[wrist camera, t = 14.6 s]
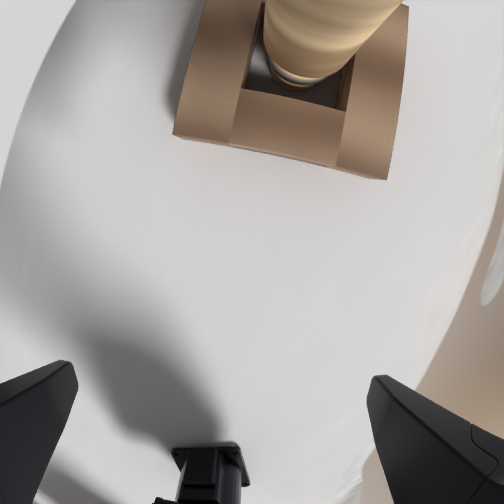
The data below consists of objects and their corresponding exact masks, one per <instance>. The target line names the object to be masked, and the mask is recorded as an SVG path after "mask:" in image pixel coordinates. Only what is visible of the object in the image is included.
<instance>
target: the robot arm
mask: <svg viewBox="0 0 504 504" xmlns="http://www.w3.org/2000/svg"><path fill="white" fill-rule="evenodd" d="M77 391H78V381H77V377H76V374H75V371H74V367H73V365H72V363H71V362H69V361H64V360H58V361H55V362H53V363H51V364H48V365H46V366H43V367H41V368H38V369H36V370H33V371H31V372H28V373H26V374H23V375H21V376H18V377H16V378H13V379H11V380H8V381H6V382H3V383H1V384H0V504H32V502H33V500H34V497H35V494H36V492H37V489H38V487H39V485H40V482H41V480H42V477H43V475H44V473H45V470H46V468H47V466H48V463H49V461H50V459H51V456H52V454H53V452H54V450H55V447H56V445H57V443H58V441H59V439H60V437H61V434H62V432H63V430H64V428H65V425H66V422H67V420H68V417H69V414H70V411H71V408H72V405H73V402H74V400H75V397H76V394H77ZM367 408H368V413H369V417H370V422H371V427H372V432H373V437H374V441H375V445H376V449H377V452H378V455H379V458H380V461H381V464H382V467H383V470H384V473H385V476H386V479H387V482H388V486H389V489H390V492H391V495H392V498H393V501H394V504H504V439H502V438H500V437H497V436H495V435H493V434H491V433H489V432H487V431H485V430H483V429H481V428H479V427H478V426H476V425H474V424H471V423H470V422H468V421H467V420H465V419H463V418H461V417H459V416H458V415H456V414H454V413H452V412H450V411H449V410H447V409H445V408H443V407H442V406H440V405H438V404H436V403H435V402H433V401H431V400H429V399H427V398H426V397H424V396H422V395H421V394H419V393H417V392H415V391H414V390H412V389H410V388H408V387H407V386H405V385H403V384H402V383H400V382H398V381H396V380H395V379H393V378H391V377H390V376H388V375H377V376H374V377H373V378H372V380H371V384H370V388H369V391H368V395H367ZM234 451H236V452H234ZM171 455H172V457H173V459H174V460H175V462H176V464H177V466H178V468H179V470H180V472H181V475H180V480H179V484H178V489H177V494H176V498H175V501H170V500H165V499H163V498H160V497H156V499H155V502H154V503H152V504H241V487H247V486H249V485H250V479H249V476H248V473H247V470H246V466H245V463H244V460H243V456H242V453H241V450H240V448H238V447H219V448H174V449H172V452H171Z"/></svg>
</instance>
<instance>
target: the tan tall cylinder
mask: <svg viewBox="0 0 504 504" xmlns="http://www.w3.org/2000/svg"><path fill="white" fill-rule="evenodd" d="M403 1H404V0H265V16H264V32H263V40H264V45H265V48H266V51H267V56H268V60H269V63H270V66H271V72H272V75H273V77H274V79H275V80H276V82H277V83H278V84H280V85H281V86H282V87H284V88H286V89H289V90H292V91H304V90H307V89H309V88H311V87H313V86H314V85H315V84H316V83H319V82H321V81H322V80H324V79H325V78H327V77H328V76H329V75H332V74H334V73H336V72H337V71H339V70H340V69H341V68H342V67H343V66H344V65H345V64H346V63H347V62H348V61H349V59H350V58H351V57H352V56H353V55H354V54H355V53H356V52H357V50H358V49H359V48H360V47H361V46H362V45H363V44H364V43H365V42H366V40H367V39H368V38H369V37H370V36H371V35H372V34H373V33H374V32H375V31H376V29H377V28H378V27H379V26H380V25H381V24H382V23H383V22H384V21H385V20H386V19H387V18H388V17H389V15H390V14H391V13H392V12H393V11H394V10H395V9H396V8H397V7H398V6H399V5H400V4H401V3H402V2H403Z"/></svg>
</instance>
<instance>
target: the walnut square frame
mask: <svg viewBox="0 0 504 504" xmlns="http://www.w3.org/2000/svg"><path fill="white" fill-rule="evenodd" d="M408 15H409V6H406V5H404V4H402V3H401V4H400V5H399V6H398V7H397V8H396V9H395V10H394V11H393V12H392V13H391V14H390V15H389V17H388V18H387V19H386V20H385V21H384V22H383V23H382V24H381V25H380V26H379V27H378V28H377V29H376V31H375V32H374V33H373V34H372V35H371V36H370V37H369V38H368V39H367V40H366V42H365V43H364V44H363V45H362V46H361V47H360V48H359V49H358V50H357V52H356V53H355V54H354V55H353V56H352V57H351V58H350V59H349V61H348V62H347V63H346V64H345V65H344V66H343V67H342V73H341V79H340V85H339V91H338V97H337V102H336V108H335V109H333V108H329V107H326V106H322V105H318V104H314V103H310V102H306V101H302V100H297V99H293V98H288V97H284V96H279V95H274V94H269V93H264V92H259V91H254V90H248V89H245V86H246V81H247V77H248V72H249V68H250V64H251V59H252V55H253V51H254V46H255V42H256V38H257V34H258V30H259V26H260V23H264V16H265V0H207V2H206V5H205V8H204V11H203V14H202V18H201V21H200V24H199V28H198V31H197V34H196V38H195V41H194V45H193V49H192V52H191V56H190V60H189V64H188V67H187V71H186V75H185V79H184V83H183V88H182V92H181V96H180V100H179V105H178V109H177V114H176V118H175V123H174V128H173V133H172V134H173V135H175V136H177V137H180V138H182V139H185V140H192V141H198V142H205V143H211V144H217V145H223V146H229V147H234V148H240V149H245V150H250V151H255V152H261V153H265V154H270V155H275V156H280V157H285V158H289V159H294V160H298V161H302V162H307V163H311V164H315V165H319V166H323V167H327V168H331V169H335V170H339V171H343V172H347V173H351V174H354V175H358V176H362V177H365V178H369V179H379V180H387V177H388V172H389V167H390V162H391V156H392V151H393V145H394V140H395V134H396V128H397V122H398V115H399V108H400V101H401V94H402V86H403V77H404V68H405V58H406V46H407V33H408Z"/></svg>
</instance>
